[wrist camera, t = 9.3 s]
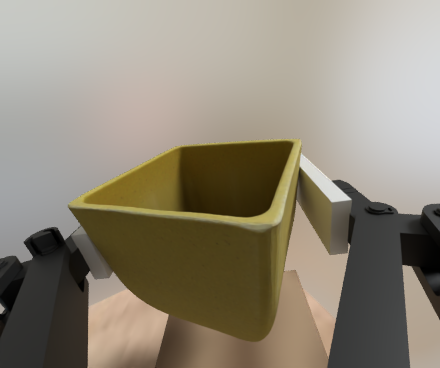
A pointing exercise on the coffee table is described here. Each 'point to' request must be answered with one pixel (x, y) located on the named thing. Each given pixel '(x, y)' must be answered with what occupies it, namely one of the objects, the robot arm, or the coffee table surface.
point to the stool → (244, 350)
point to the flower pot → (201, 231)
